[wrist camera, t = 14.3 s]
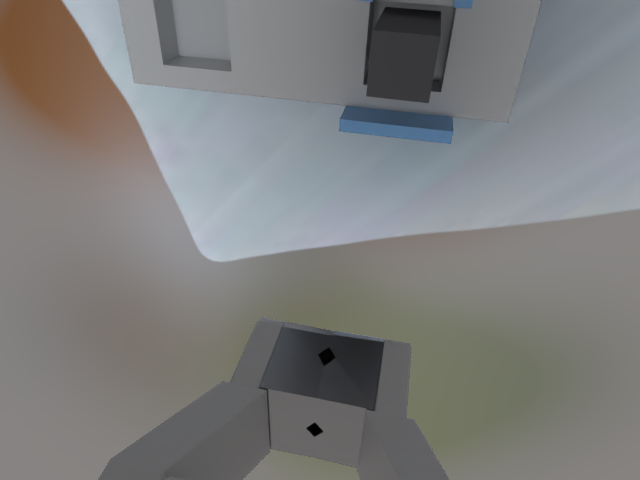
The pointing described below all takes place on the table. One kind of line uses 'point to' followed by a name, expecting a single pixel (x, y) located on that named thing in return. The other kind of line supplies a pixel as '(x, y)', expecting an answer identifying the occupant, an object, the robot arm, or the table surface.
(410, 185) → the table surface
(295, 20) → the grey board with holes
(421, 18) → the dark rectangular block
